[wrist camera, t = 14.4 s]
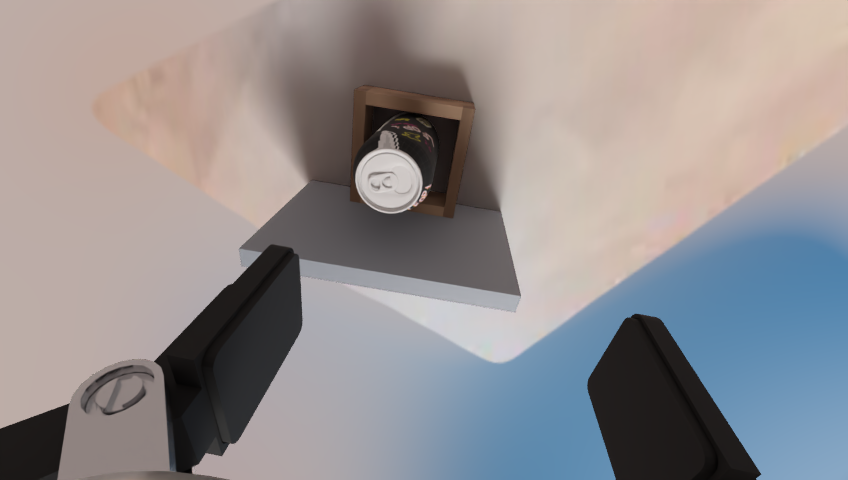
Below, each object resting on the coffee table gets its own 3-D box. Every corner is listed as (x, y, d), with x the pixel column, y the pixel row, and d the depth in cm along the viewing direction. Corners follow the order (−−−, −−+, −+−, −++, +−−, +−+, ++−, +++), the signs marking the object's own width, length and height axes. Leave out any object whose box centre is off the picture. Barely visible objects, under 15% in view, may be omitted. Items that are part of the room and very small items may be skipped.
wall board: (501, 211, 37) (521, 296, 25) (497, 224, 38) (515, 312, 25) (311, 180, 37) (238, 248, 25) (312, 193, 38) (241, 266, 26)
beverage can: (374, 116, 33) (334, 147, 23) (434, 105, 32) (422, 131, 22) (388, 175, 36) (358, 227, 25) (444, 166, 35) (437, 216, 24)
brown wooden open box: (473, 103, 32) (475, 109, 29) (453, 203, 37) (453, 218, 34) (364, 85, 32) (354, 89, 29) (358, 188, 37) (349, 201, 34)
